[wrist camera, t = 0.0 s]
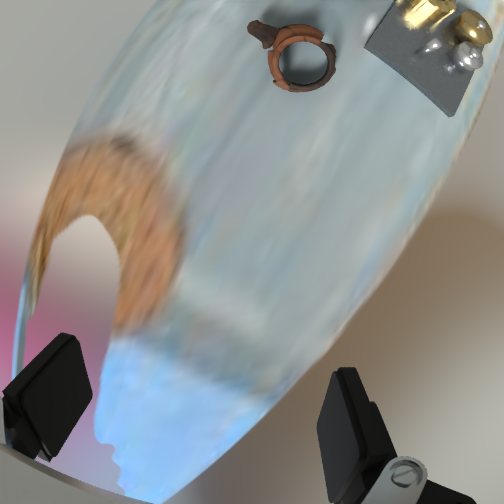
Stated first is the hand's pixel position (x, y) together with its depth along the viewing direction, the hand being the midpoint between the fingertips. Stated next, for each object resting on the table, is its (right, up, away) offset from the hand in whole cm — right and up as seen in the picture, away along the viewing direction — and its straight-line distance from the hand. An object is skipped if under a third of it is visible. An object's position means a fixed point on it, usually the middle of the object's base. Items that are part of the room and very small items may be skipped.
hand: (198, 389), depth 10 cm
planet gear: (+29, +43, +18) cm, 55 cm away
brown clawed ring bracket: (+7, +30, +24) cm, 39 cm away
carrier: (+29, +37, +21) cm, 52 cm away
